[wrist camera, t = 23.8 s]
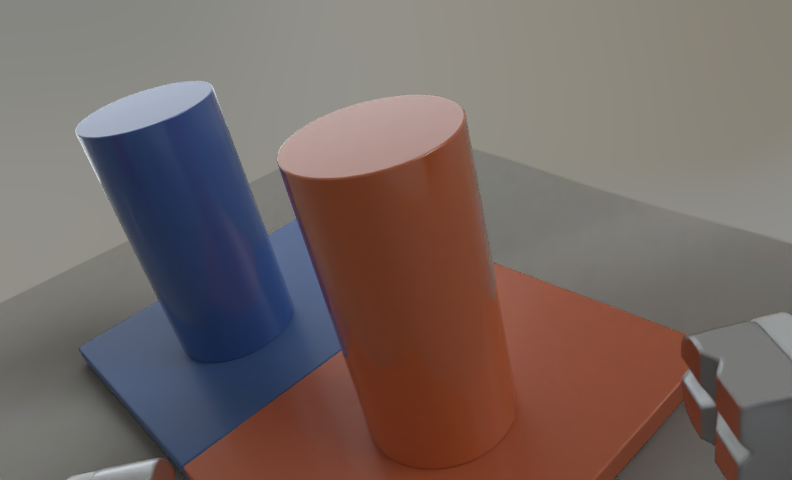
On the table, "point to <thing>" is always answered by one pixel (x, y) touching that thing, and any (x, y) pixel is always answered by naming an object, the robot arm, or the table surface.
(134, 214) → the blue canister
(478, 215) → the terracotta canister
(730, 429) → the robot arm
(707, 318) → the table surface
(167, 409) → the board
